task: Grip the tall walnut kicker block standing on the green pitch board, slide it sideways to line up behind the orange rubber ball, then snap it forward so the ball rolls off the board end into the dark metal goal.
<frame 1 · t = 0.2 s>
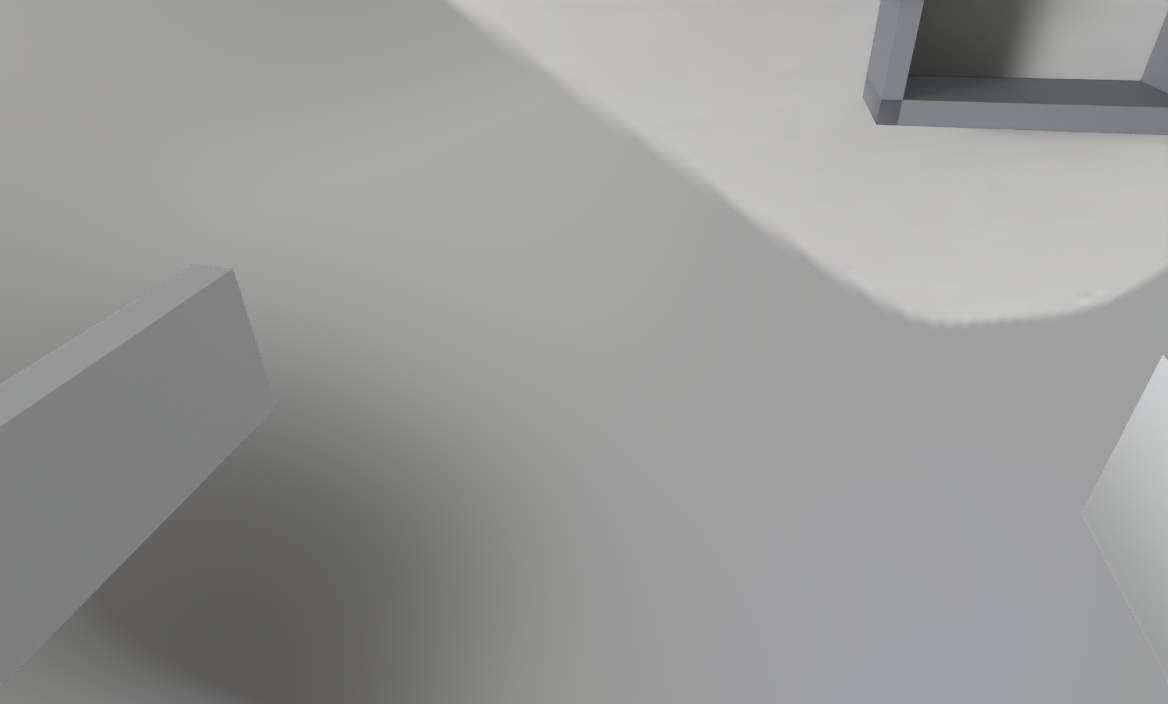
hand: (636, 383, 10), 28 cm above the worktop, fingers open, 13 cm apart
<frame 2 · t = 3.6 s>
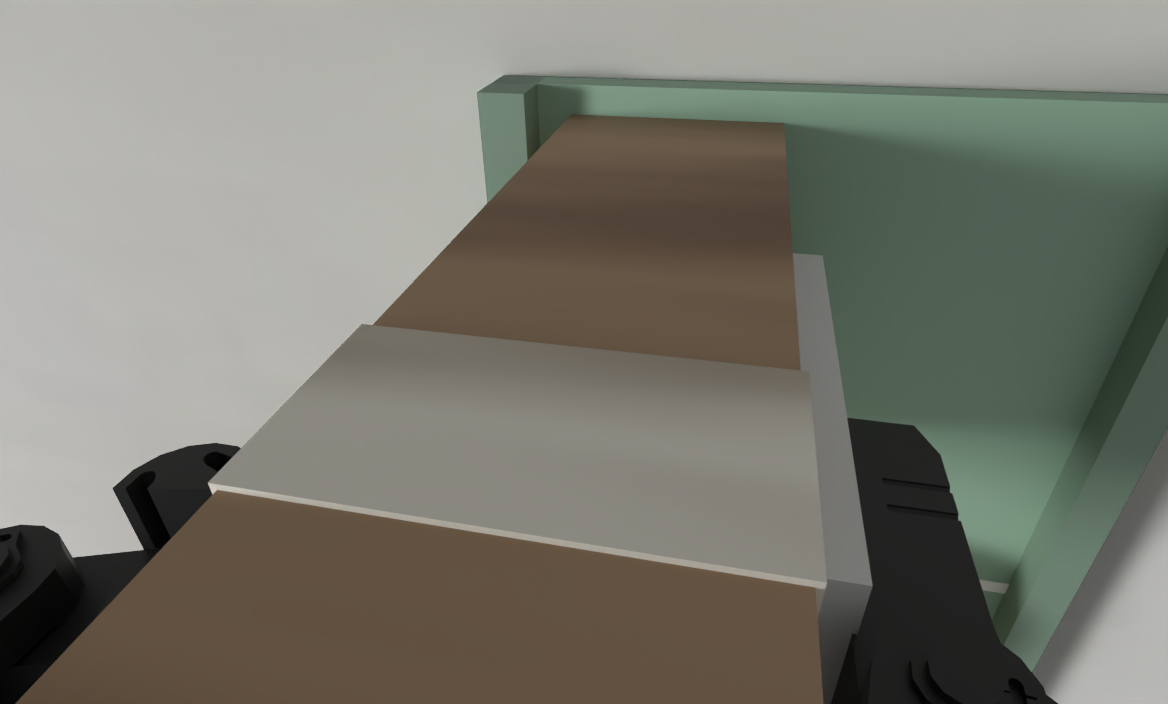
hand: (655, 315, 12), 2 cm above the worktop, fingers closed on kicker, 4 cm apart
kicker: (666, 277, 13), point 1 cm above the worktop, touching gripper, pitch
pitch: (752, 622, 19), on the worktop
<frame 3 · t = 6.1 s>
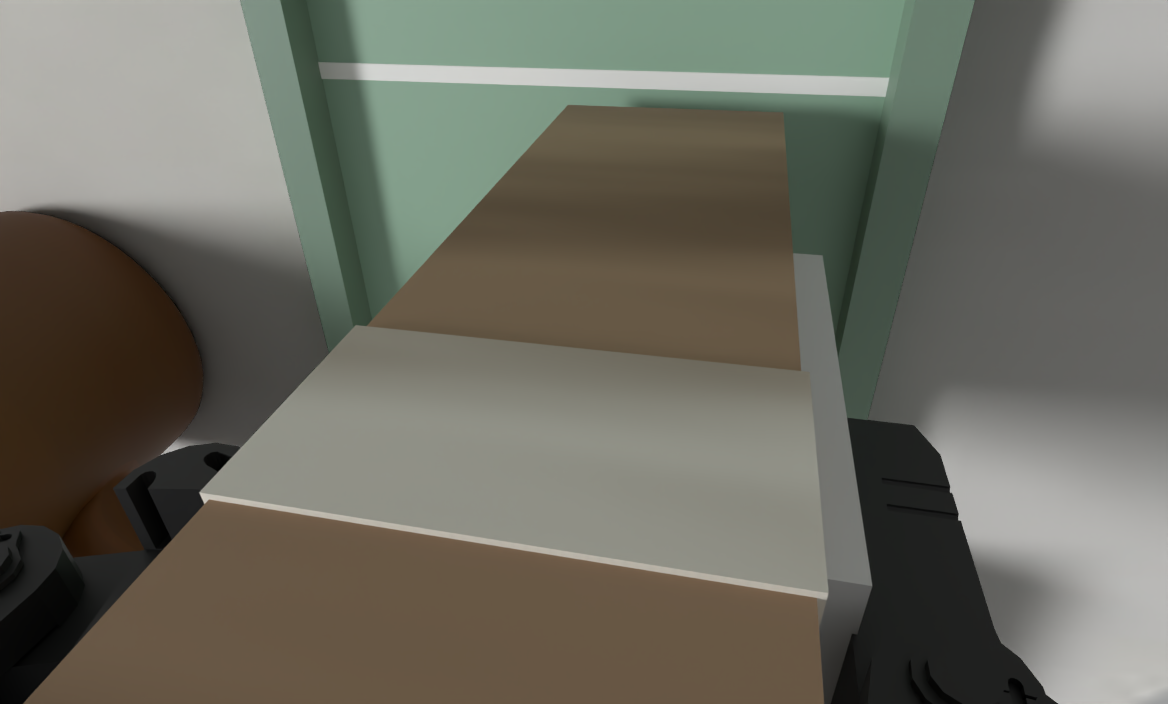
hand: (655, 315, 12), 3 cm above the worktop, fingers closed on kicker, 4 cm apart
kicker: (664, 269, 13), point 1 cm above the worktop, touching gripper
mug: (166, 371, 20), on the worktop
pitch: (590, 244, 15), on the worktop
when the fingers open (3 cm above the worktop, at t = 7.9 s): kicker stays where it is, resting on pitch.
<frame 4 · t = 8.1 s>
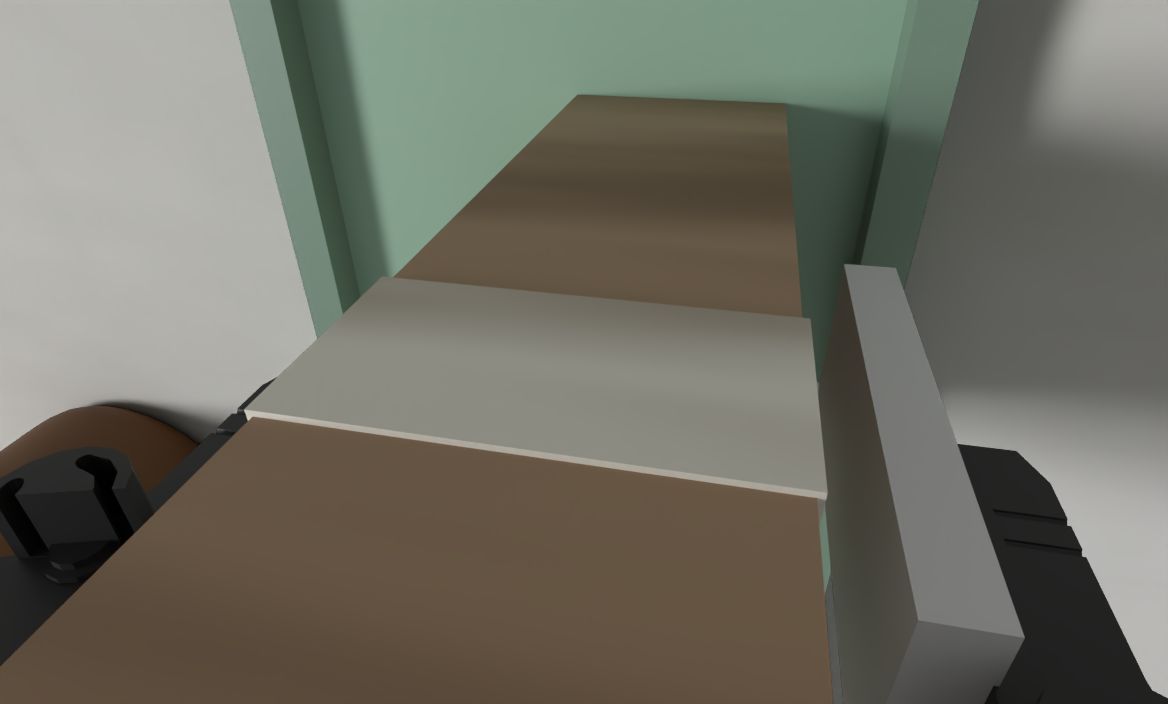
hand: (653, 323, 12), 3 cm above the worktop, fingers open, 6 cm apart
kicker: (668, 257, 14), point 1 cm above the worktop, touching pitch
mug: (221, 522, 23), on the worktop
pitch: (590, 463, 18), on the worktop
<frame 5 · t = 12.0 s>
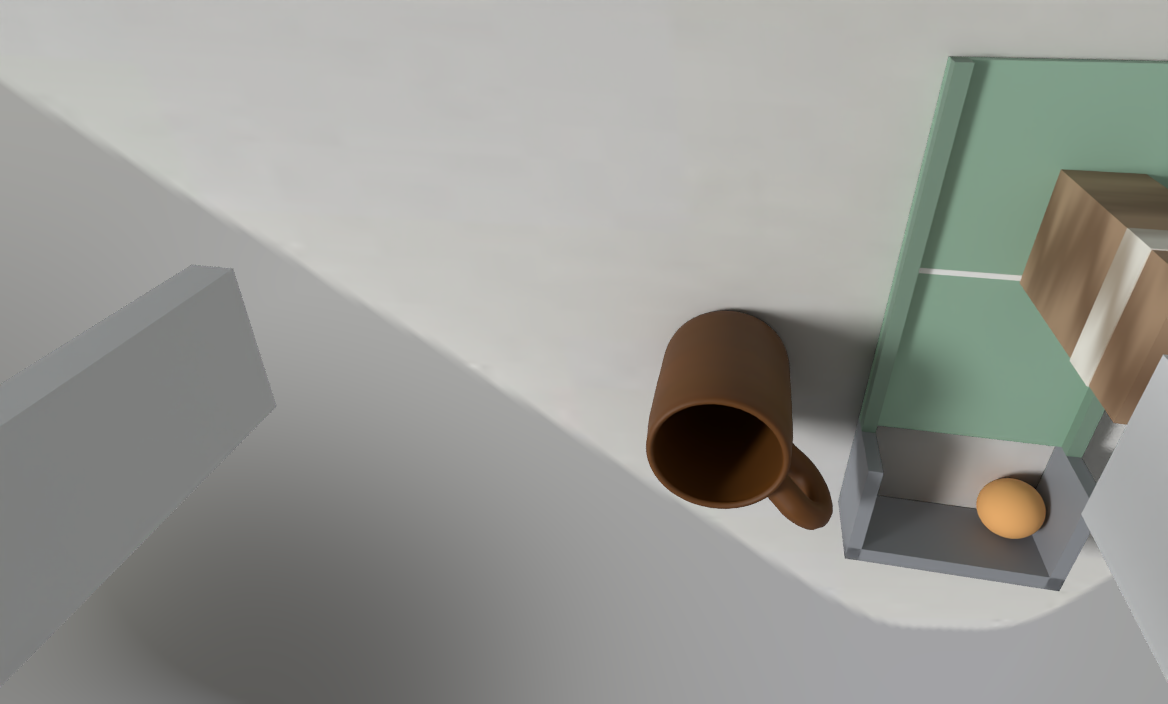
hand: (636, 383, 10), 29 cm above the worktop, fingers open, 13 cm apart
kicker: (1079, 231, 34), point 1 cm above the worktop, touching pitch
ball: (1010, 508, 42), point 2 cm above the worktop, tilted 64°
mug: (751, 378, 44), on the worktop
pitch: (998, 330, 38), on the worktop
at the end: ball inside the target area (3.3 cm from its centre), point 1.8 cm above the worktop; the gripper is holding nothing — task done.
